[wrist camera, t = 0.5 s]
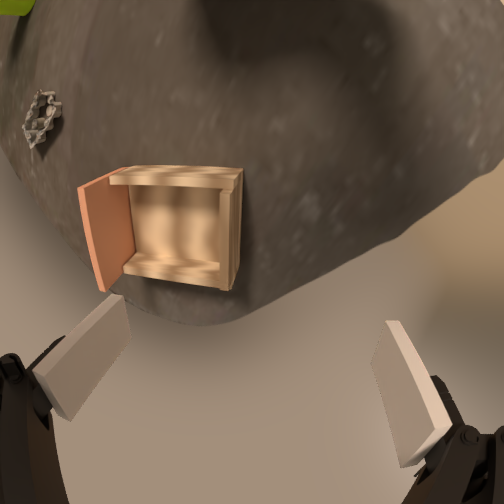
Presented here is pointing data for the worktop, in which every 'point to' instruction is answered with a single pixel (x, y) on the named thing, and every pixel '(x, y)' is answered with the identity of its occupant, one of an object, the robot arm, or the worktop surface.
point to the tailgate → (107, 227)
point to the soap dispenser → (16, 7)
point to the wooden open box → (185, 222)
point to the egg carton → (33, 126)
